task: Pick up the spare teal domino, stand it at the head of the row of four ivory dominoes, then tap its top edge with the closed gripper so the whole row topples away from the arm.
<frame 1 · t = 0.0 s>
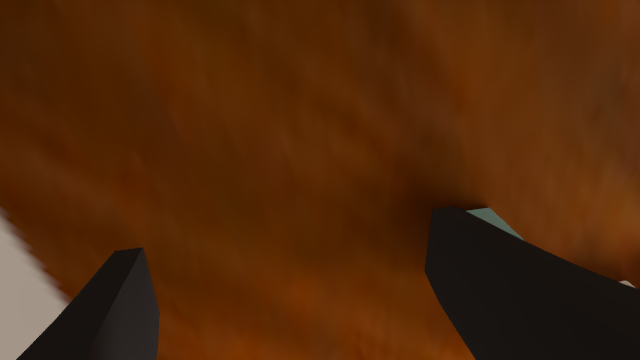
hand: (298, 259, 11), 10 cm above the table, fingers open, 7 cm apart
domino teal: (470, 244, 26), on the table
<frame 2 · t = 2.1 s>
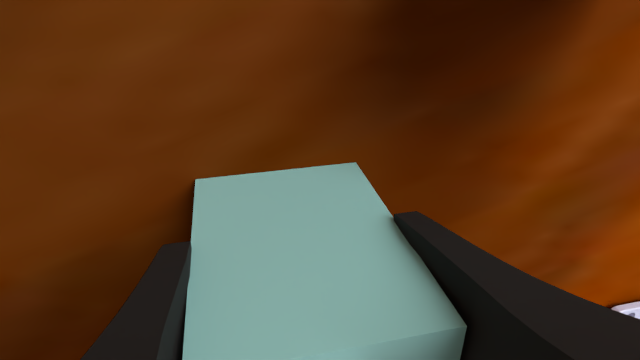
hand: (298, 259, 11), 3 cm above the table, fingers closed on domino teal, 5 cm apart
domino teal: (279, 192, 14), on the table, touching gripper
when the fingers open (4 cm above the table, at t = 5.0 s): domino teal drops 1 cm, on the table.
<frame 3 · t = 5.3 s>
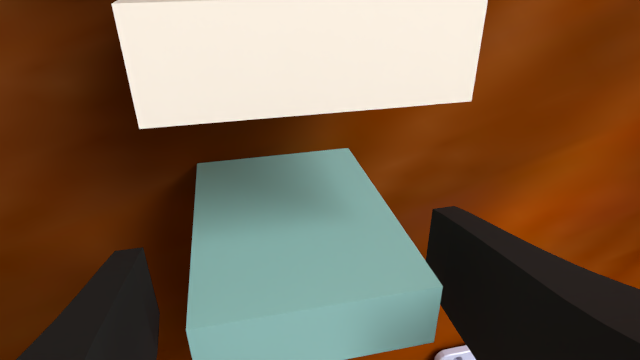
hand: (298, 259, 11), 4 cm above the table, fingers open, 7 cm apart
domino 2: (264, 4, 12), on the table
domino teal: (276, 176, 15), on the table
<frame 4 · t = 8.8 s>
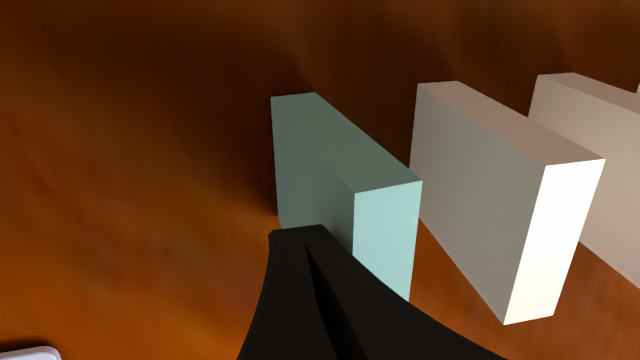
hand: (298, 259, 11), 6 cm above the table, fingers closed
domino 3: (540, 133, 18), on the table
domino 2: (430, 144, 17), on the table
domino teal: (295, 160, 16), on the table, tilted 7°
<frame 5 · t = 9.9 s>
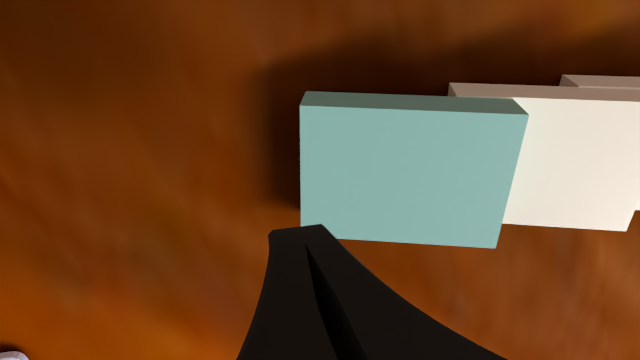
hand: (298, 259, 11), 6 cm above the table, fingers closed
domino 3: (553, 141, 17), point 1 cm above the table, tilted 71°, touching domino 2
domino 2: (443, 152, 16), point 1 cm above the table, tilted 71°, touching domino 3, domino teal
domino teal: (303, 165, 15), point 1 cm above the table, tilted 72°, touching domino 2
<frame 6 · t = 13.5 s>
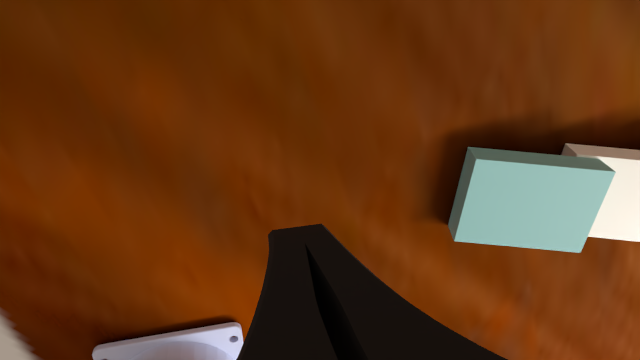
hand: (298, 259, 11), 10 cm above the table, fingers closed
domino 2: (556, 188, 25), point 1 cm above the table, tilted 72°, touching domino 3, domino teal
domino teal: (461, 194, 23), point 1 cm above the table, tilted 75°, touching domino 2
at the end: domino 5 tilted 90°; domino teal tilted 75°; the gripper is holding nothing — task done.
